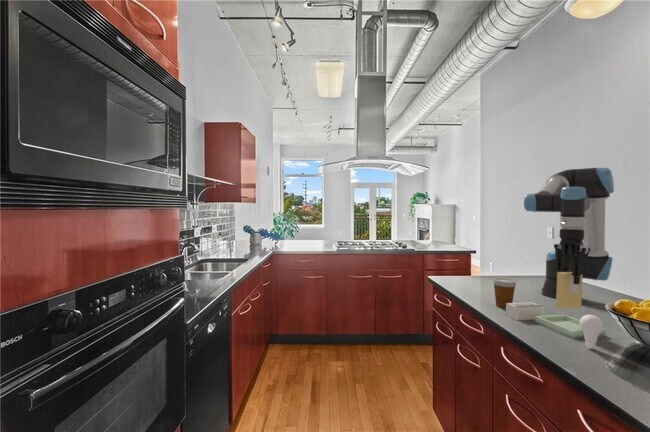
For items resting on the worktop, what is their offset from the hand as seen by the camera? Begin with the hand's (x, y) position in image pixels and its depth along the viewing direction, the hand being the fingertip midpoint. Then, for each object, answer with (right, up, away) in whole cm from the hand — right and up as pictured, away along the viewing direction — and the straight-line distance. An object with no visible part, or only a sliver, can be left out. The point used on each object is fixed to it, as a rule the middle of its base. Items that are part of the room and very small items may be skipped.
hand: (569, 291), depth 131 cm
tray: (0, -14, +1) cm, 14 cm away
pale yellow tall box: (0, -6, 0) cm, 6 cm away
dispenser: (-9, -14, +14) cm, 22 cm away
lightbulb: (-6, -15, -18) cm, 24 cm away
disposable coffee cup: (-10, -13, +29) cm, 34 cm away
